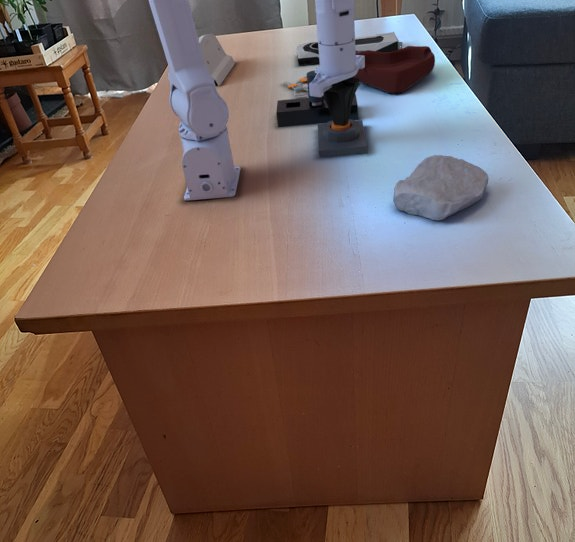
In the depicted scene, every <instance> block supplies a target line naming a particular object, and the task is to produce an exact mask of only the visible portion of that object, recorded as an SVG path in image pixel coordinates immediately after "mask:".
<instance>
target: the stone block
mask: <svg viewBox="0 0 575 542" xmlns="http://www.w3.org/2000/svg"><path fill="white" fill-rule="evenodd" d="M488 184H489V175H488V173H487V172H486V171H485V170H484V169H482V167H480V166H479V165H475V164H473V163H470V162H468V161H466V160H465V159H463V158H457V157H454V156H452V155H442V154H435V155H430V156H427V157H425V158H424V159H423V160H422V161H421V162H420V163H418V165H417V166H416V167H415V168H414V170H413V171H412V172H411V174H410V175H408V177H406V178H404V179H402V180H401V179H400V180H398V181H397V182H396V184H395V186H394V188H393V192H394V193H393V198H392V202H393V204H394V207H395V208H396V210H397V211H399V212H406V213H407V214H408V215H413V216H419V217H423V218H426V219H429V220H432V221H442V220H445V219H447V218H448V217H451V216H452V215H455V214H456V213H458V212H460V211H463V210H464V209H467V208H469V207H470V206H472V205H473V204H475V203H477V202H480V201H481V200H482V198H483V197H484V194H485V193H484V192H485V190H486V188H487V187H488Z"/></svg>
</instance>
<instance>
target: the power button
mask: <svg viewBox="0 0 575 542" xmlns="http://www.w3.org/2000/svg"><path fill="white" fill-rule="evenodd" d="M331 127H332V129H333V130H338V131H339V130H346V129H349V128H350V122H349V121H348V123H347V124H346V125H345V126H340V125H334V123H332V124H331Z"/></svg>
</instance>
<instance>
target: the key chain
mask: <svg viewBox="0 0 575 542" xmlns="http://www.w3.org/2000/svg"><path fill="white" fill-rule="evenodd" d="M304 82H307V75H306V76H305V77H302V78H299V81H297V82H296V83H291V82H289V81H284V82H283V85H284V86H286V87H287V88H288V89H289V88H291V89H293V95H294V97H303V96H308V86H303V84H300V83H304ZM302 90H303V91H304V92H305V91H306V92H307V93H303V94H297V91H302Z"/></svg>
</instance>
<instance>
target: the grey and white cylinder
mask: <svg viewBox="0 0 575 542" xmlns="http://www.w3.org/2000/svg"><path fill="white" fill-rule="evenodd" d="M316 75H317V73H315V70H309V71H308V72H307V73H306V76H307V81H306V82H307V83H306V84H307V87H308V92H307V93H308V95H307V98H309V101H310V102H312V106H313V105H322V101H324V98H323V97H314V96H310V92H309V83H311V82H312V81H313V80H314V78H315V76H316Z"/></svg>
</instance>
